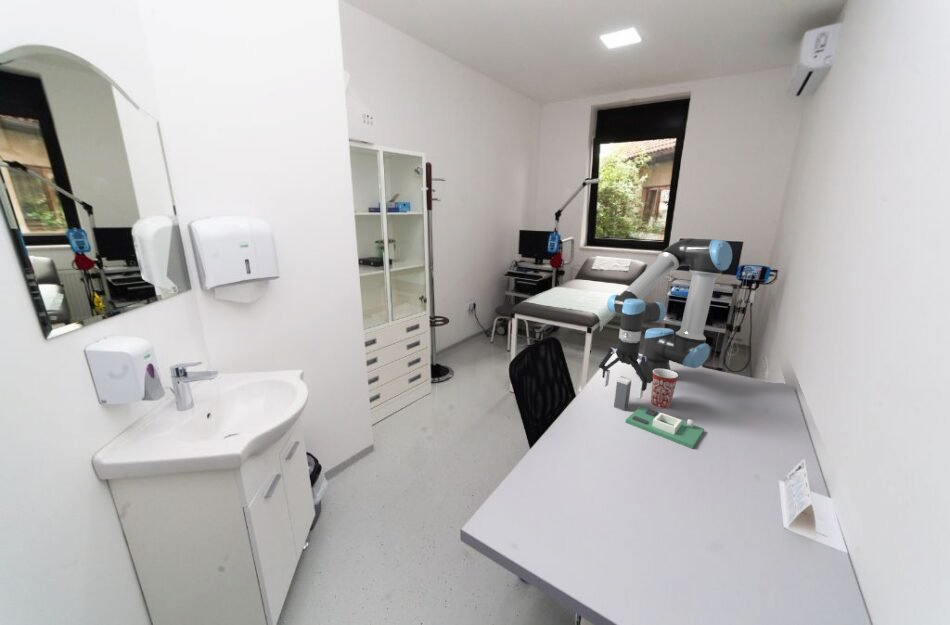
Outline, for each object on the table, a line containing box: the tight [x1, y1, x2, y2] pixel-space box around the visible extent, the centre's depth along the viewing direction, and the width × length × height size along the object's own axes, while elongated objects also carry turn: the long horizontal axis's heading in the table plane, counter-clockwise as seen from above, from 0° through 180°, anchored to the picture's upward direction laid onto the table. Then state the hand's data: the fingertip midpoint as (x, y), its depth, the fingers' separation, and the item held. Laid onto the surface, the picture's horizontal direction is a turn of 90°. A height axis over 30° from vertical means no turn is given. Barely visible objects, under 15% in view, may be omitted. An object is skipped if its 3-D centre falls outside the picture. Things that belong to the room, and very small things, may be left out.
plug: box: [613, 375, 633, 411], centre depth 143 cm, size 4×4×12 cm
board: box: [625, 405, 705, 449], centre depth 131 cm, size 14×22×4 cm, turn 46°
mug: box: [650, 369, 679, 409], centre depth 147 cm, size 13×9×14 cm
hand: (622, 391), depth 143 cm, fingers open, 13 cm apart
